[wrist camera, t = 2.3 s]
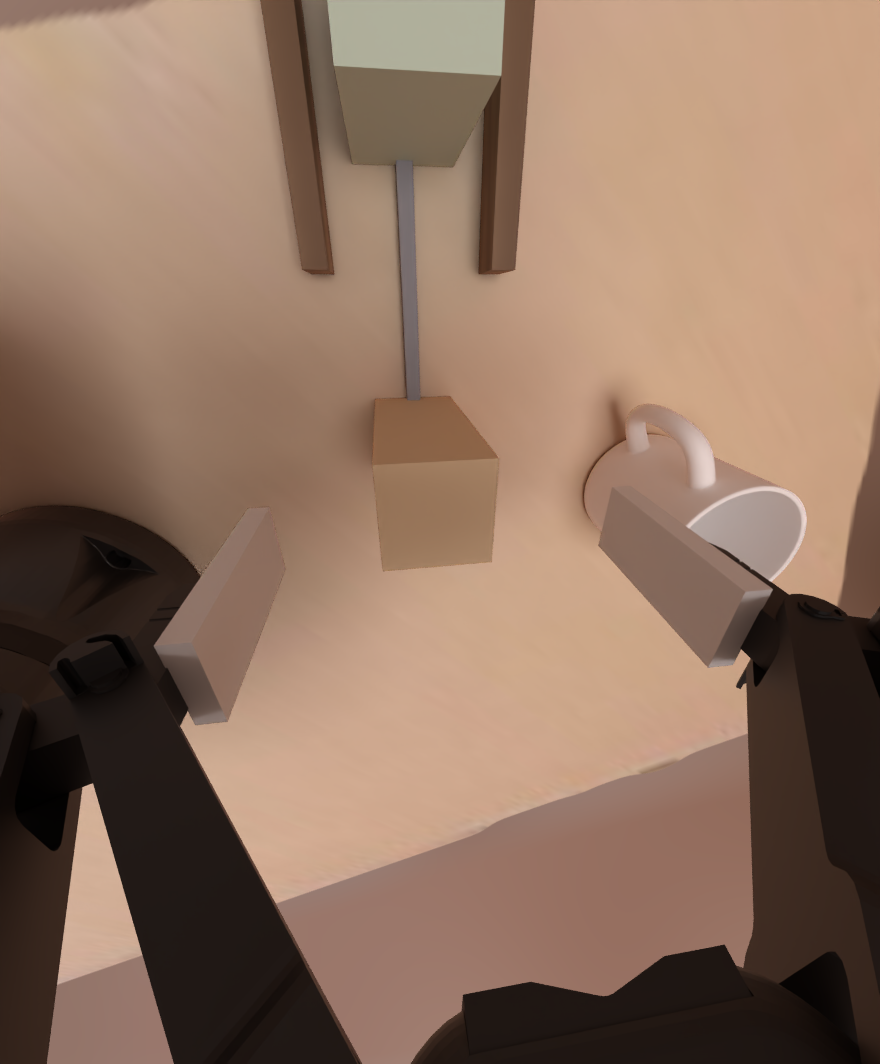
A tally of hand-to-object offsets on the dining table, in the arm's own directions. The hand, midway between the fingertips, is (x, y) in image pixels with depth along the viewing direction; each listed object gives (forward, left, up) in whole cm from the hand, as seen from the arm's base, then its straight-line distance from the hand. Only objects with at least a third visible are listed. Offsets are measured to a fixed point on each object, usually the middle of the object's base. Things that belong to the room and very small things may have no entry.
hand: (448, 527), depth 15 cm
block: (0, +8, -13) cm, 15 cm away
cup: (+16, -3, -13) cm, 21 cm away
